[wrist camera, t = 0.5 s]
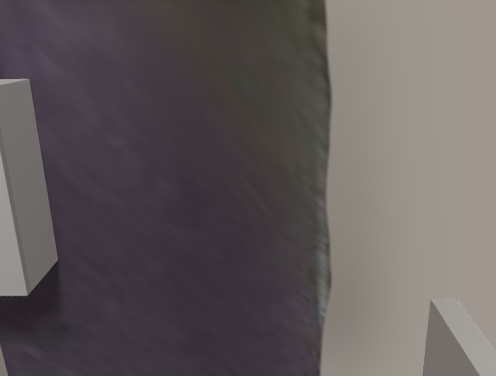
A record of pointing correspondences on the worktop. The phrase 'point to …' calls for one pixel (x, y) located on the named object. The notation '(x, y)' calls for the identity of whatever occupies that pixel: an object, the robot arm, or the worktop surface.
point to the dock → (22, 195)
